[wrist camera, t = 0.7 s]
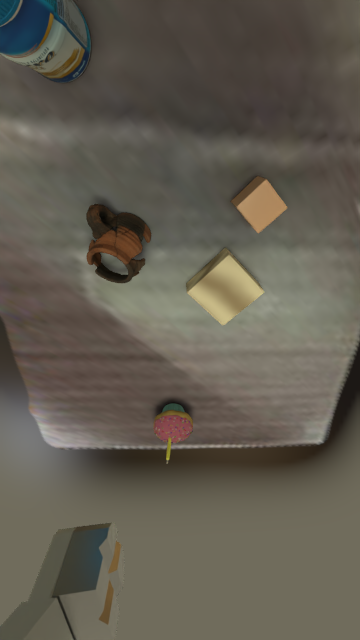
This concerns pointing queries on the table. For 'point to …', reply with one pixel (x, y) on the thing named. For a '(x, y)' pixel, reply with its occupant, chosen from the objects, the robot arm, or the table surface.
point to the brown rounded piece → (116, 241)
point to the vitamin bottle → (45, 37)
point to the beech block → (224, 287)
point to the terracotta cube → (259, 203)
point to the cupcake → (172, 425)
